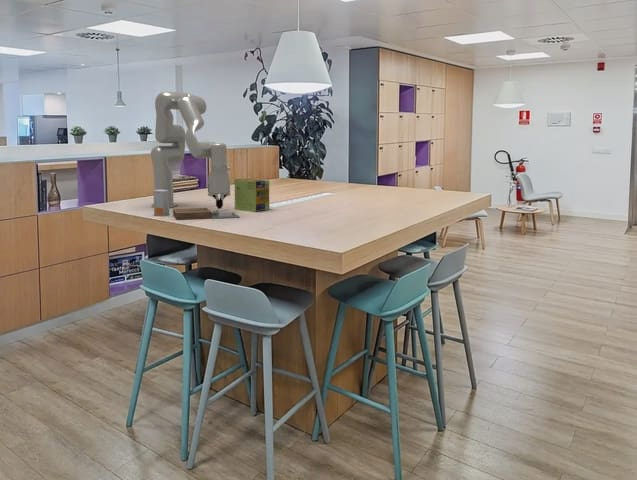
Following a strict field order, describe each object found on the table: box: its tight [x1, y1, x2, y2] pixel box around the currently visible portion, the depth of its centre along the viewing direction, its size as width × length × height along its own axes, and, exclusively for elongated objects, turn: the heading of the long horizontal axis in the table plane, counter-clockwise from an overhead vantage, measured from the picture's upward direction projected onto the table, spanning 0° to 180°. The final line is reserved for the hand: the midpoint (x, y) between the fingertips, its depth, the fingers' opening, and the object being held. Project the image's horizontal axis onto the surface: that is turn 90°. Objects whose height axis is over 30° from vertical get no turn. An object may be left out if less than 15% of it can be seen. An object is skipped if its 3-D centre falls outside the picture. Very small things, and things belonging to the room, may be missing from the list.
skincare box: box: [152, 189, 170, 217], centre depth 265 cm, size 6×4×12 cm
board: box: [172, 207, 213, 221], centre depth 262 cm, size 14×16×3 cm
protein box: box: [234, 178, 270, 213], centre depth 287 cm, size 10×15×16 cm
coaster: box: [215, 208, 233, 217], centre depth 267 cm, size 9×6×2 cm, turn 21°
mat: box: [212, 211, 241, 220], centre depth 268 cm, size 16×13×1 cm
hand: (219, 208), depth 266 cm, fingers closed
